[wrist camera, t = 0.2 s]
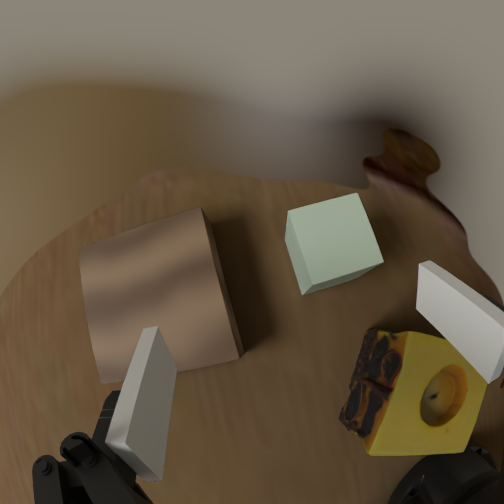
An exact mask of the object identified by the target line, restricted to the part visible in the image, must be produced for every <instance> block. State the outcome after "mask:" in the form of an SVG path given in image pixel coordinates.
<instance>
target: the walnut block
mask: <svg viewBox="0 0 504 504" xmlns="http://www.w3.org/2000/svg"><path fill="white" fill-rule="evenodd" d="M78 250H79V262H80V272H81V281H82V289H83V297H84V304H85V310H86V316H87V322H88V327H89V333H90V338H91V342H92V347H93V352H94V356H95V360H96V365H97V369H98V373H99V376H100V380H101V384H105V383H113V382H121V381H124V380H125V378H126V375H127V372H128V369H129V366H130V363H131V361H132V358H133V355H134V352H135V350H136V347H137V344H138V342H139V339H140V336H141V334H142V331H143V328H149V327H155V326H158V327H159V329H160V332H161V334H162V336H163V339H164V341H165V343H166V345H167V348H168V350H169V352H170V354H171V356H172V359H173V361H174V363H175V365H176V367H177V372H182V371H187V370H192V369H197V368H202V367H206V366H211V365H215V364H220V363H224V362H228V361H232V360H237V359H240V358H241V357H242V356H243V355H244V354H245V352H244V349H243V345H242V342H241V338H240V334H239V331H238V327H237V323H236V320H235V316H234V312H233V309H232V305H231V301H230V297H229V294H228V290H227V286H226V282H225V278H224V275H223V271H222V267H221V263H220V259H219V255H218V251H217V247H216V243H215V239H214V235H213V231H212V227H211V223H210V221H209V220H208V218H207V216H206V215H205V213H204V212H203V210H202V208H201V207H198V208H195V209H192V210H189V211H186V212H182V213H179V214H176V215H173V216H170V217H167V218H164V219H161V220H158V221H155V222H152V223H149V224H146V225H143V226H140V227H137V228H134V229H131V230H128V231H126V232H123V233H120V234H117V235H114V236H112V237H109V238H106V239H103V240H101V241H98V242H95V243H92V244H90V245H87V246H85V247H82V248H79V249H78Z"/></svg>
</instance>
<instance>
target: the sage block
mask: <svg viewBox="0 0 504 504" xmlns="http://www.w3.org/2000/svg"><path fill="white" fill-rule="evenodd" d="M285 242H286V245H287V248H288V251H289V254H290V258H291V261H292V264H293V267H294V271H295V274H296V277H297V280H298V284H299V287H300V290H301V294H302V295H306V294H309V293H312V292H315V291H319V290H322V289H325V288H328V287H331V286H334V285H337V284H341V283H344V282H347V281H350V280H353V279H356V278H358V277H360V276H361V275H363V274H365V273H366V272H368V271H370V270H371V269H373V268H375V267H376V266H378V265H380V264H381V263H383V262H384V261H383V258H382V255H381V252H380V249H379V246H378V244H377V241H376V238H375V236H374V233H373V230H372V228H371V225H370V223H369V220H368V217H367V215H366V212H365V210H364V208H363V205H362V203H361V200H360V198H359V196H358V193H354V194H350V195H346V196H342V197H338V198H334V199H331V200H327V201H323V202H319V203H315V204H312V205H308V206H304V207H301V208H297V209H293V210H290V211H288V216H287V225H286V234H285Z"/></svg>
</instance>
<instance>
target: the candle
mask: <svg viewBox="0 0 504 504" xmlns="http://www.w3.org/2000/svg"><path fill="white" fill-rule="evenodd" d="M351 382H352V383H351V384H350V385H349V388H350V389H351V394H350V396H349V398H348V399H347V402H346V404H345V405H344V407H343V408H342V411H341V413H340V417H339V420H340V421H341V422H342V424H343V425H345V427H346V428H347V430H348V431H351V432H352V433H354V434H356V435H358V436H359V437H360V439H361V444H362V445H363V446H364V448H365V451H366V452H367V453H368V454H370V455H373V456H407V455H431V454H447V453H460V452H464V450H465V448H466V446H467V444H468V441H469V439H470V436H471V433H472V431H473V428H474V425H475V423H476V420H477V416H478V413H479V410H480V407H481V404H482V401H483V398H484V394H485V391H486V387H487V384H488V383H487V382H486V380H485V379H484V378H483V377H482V376H481V375H480V374H479V373H478V372H477V370H476V369H475V368H474V367H473V366H472V365H471V364H470V363H469V362H468V361H467V360H466V359H465V358H464V357H463V356H462V354H461V353H460V352H459V351H458V350H457V349H456V348H455V347H454V346H453V345H452V344H451V343H450V342H449V341H448V340H447V339H446V338H439V337H435V336H432V335H428V334H424V333H420V332H413V331H405V332H401V333H398V332H394V331H392V330H391V331H388V330H381V329H368V330H367V331H366V333H365V336H364V340H363V344H362V348H361V351H360V354H359V356H358V360H357V362H356V366H355V371H354V373H353V375H352V379H351Z"/></svg>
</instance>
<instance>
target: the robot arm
mask: <svg viewBox="0 0 504 504" xmlns="http://www.w3.org/2000/svg"><path fill="white" fill-rule="evenodd" d="M416 309H417V310H418V311H419V312H420V313H421V314H422V315H423V316H424V317H425V318H426V319H427V320H428V321H429V322H430V323H431V324H432V325H433V326H434V327H435V328H436V329H437V330H438V331H439V332H440V333H441V334H442V335H443V336H444V337H445V338H446V339H447V340H448V341H449V342H450V343H451V344H452V345H453V346H454V347H455V348H456V349H457V350H458V351H459V352H460V353H461V354H462V356H463V357H464V358H465V359H466V360H467V361H468V362H469V363H470V364H471V365H472V366H473V367H474V368H475V369H476V370H477V372H478V373H479V374H480V375H481V376H482V377H483V378H484V379H485V380H486V382H487V383H488V384H489V383H491V382H492V381H493V380H495V379H496V378H498V377H499V376H500V374H501V372H502V370H503V367H504V307H503V306H502V305H499V303H498V302H497V301H495V300H494V299H492V298H490V297H487V296H485V295H480V294H479V293H477V292H476V291H475V290H473V289H472V288H470V287H469V286H468V285H466V284H465V283H463V282H462V281H460V280H459V279H457V278H456V277H455V276H453V275H452V274H450V273H449V272H447V271H446V270H444V269H443V268H441V267H440V266H438V265H437V264H435V263H434V262H432V261H430V260H429V261H426V262H423V263H420V264H419V275H418V290H417V302H416ZM176 373H177V367H176V365H175V363H174V361H173V359H172V356H171V354H170V352H169V350H168V348H167V345H166V343H165V341H164V339H163V336H162V334H161V332H160V329H159V327H158V326H155V327H149V328H143V331H142V334H141V336H140V339H139V342H138V344H137V347H136V350H135V352H134V355H133V358H132V361H131V363H130V366H129V369H128V372H127V375H126V378H125V380H124V383H123V386H122V389H121V390H118V391H112V392H111V394H110V395H109V396H108V397H107V398H106V400H105V402H104V405H103V408H102V411H101V414H100V419H98V422H97V425H96V428H95V431H94V434H93V437H92V440H91V439H90V437H89V436H88V435H87V434H85V433H82V432H75V433H73V434H70V435H69V436H67V437H66V438H65V439H64V440H63V442H62V443H61V447H60V454H61V456H62V457H64V458H65V459H66V460H67V461H63V462H58V461H57V460H56V459H55V458H54V457H53V456H50V455H43V456H41V457H39V458H38V459H37V460H36V461H35V463H34V465H33V470H32V475H33V489H34V500H35V504H153V502H152V501H151V500H150V499H149V497H148V496H147V495H146V494H145V492H144V491H143V490H142V489H141V487H140V486H139V485H138V484H137V483H136V482H135V480H136V474H137V475H138V476H139V477H140V478H142V479H143V480H145V481H162V478H163V468H164V459H165V451H166V443H167V435H168V427H169V420H170V413H171V406H172V399H173V392H174V386H175V379H176ZM503 386H504V379H503V381H502V383H501V386H500V388H503ZM389 504H504V452H503V460H502V467H501V472H500V470H499V468H498V467H497V465H496V463H495V462H494V460H493V458H492V457H491V455H490V454H489V452H488V451H487V450H486V449H485V448H484V447H482V446H481V445H479V444H477V443H475V442H472V441H468V444H467V446H466V448H465V450H464V452H460V453H447V454H431V455H428V456H426V457H425V458H424V459H422V460H421V461H420V462H419V463H418V464H417V465H416V466H414V467H413V468H412V469H411V470H410V471H409V472H408V474H407V475H406V476H405V477H404V478H403V479H402V481H401V482H400V483H399V485H398V486H397V487H396V489H395V491H394V492H393V494H392V496H391V498H390V501H389Z"/></svg>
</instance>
